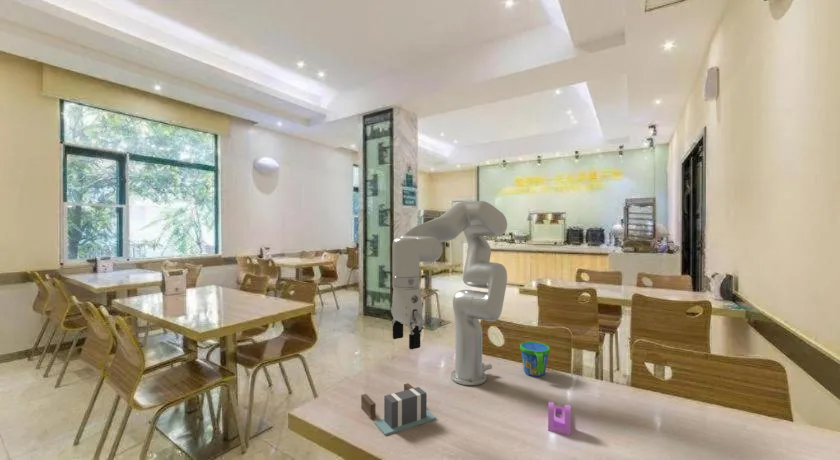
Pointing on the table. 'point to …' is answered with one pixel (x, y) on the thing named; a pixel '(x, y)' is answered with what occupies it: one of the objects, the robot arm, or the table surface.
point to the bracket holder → (370, 406)
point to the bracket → (557, 423)
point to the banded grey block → (405, 407)
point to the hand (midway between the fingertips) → (406, 343)
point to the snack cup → (534, 358)
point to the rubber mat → (387, 430)
